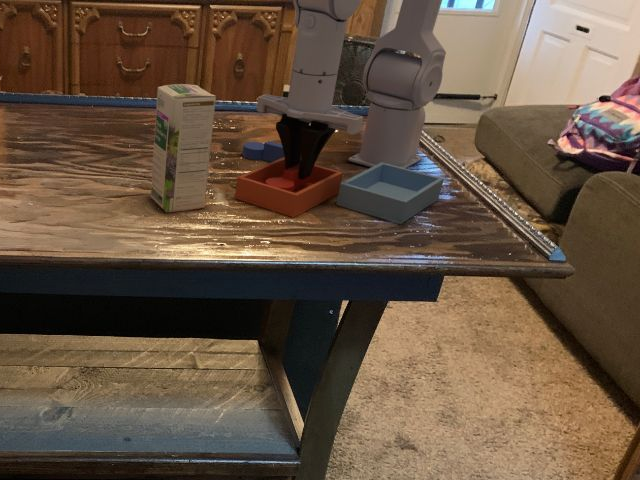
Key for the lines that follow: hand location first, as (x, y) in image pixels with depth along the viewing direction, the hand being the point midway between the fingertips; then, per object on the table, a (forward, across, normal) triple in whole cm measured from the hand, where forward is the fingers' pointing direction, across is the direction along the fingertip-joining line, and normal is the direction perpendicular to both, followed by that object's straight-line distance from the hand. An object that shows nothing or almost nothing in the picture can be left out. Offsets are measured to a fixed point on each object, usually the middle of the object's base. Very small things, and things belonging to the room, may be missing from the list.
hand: (297, 175), depth 104 cm
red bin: (+2, 0, -2) cm, 3 cm away
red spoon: (+1, 0, -2) cm, 3 cm away
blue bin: (+2, +11, +6) cm, 13 cm away
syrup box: (+3, -9, -15) cm, 18 cm away
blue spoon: (+2, -10, +9) cm, 14 cm away
